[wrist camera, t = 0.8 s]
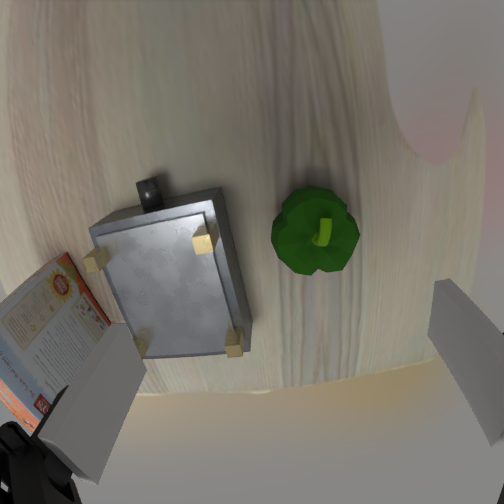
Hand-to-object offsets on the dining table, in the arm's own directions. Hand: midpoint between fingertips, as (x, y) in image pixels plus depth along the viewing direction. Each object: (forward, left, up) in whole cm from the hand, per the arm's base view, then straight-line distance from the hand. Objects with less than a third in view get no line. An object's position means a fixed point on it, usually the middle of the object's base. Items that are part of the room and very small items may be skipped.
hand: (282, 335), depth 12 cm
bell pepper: (+3, +4, -24) cm, 24 cm away
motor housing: (+5, -12, -24) cm, 27 cm away
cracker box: (+9, -30, -24) cm, 39 cm away
